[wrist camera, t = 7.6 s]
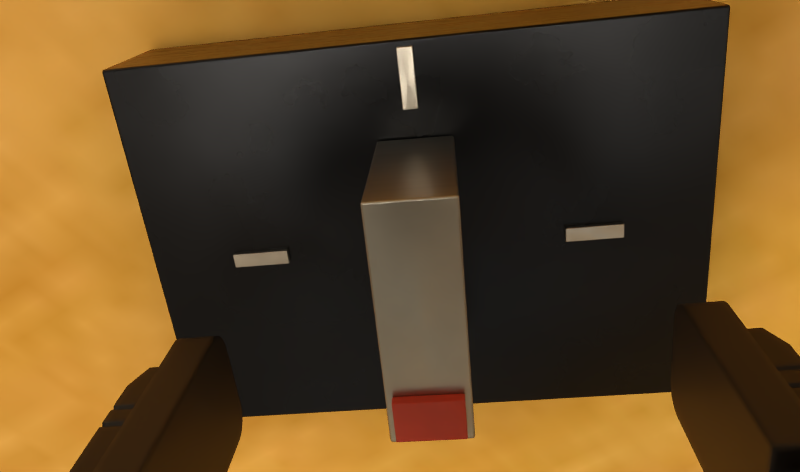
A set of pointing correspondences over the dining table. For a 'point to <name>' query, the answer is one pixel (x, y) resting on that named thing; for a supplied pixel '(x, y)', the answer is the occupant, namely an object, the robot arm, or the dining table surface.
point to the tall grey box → (419, 288)
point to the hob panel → (477, 181)
